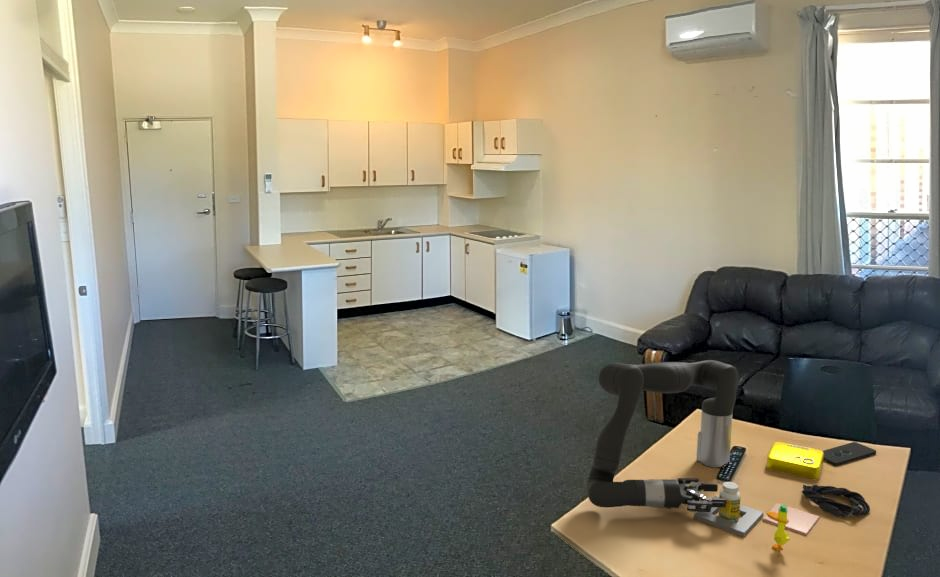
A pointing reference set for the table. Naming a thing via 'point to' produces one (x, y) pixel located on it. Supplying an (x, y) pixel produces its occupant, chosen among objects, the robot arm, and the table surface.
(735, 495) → the supplement bottle
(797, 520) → the terracotta tile
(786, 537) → the toy figure
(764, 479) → the table surface
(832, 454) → the smart home device
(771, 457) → the element tile
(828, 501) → the cable
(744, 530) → the socket block
